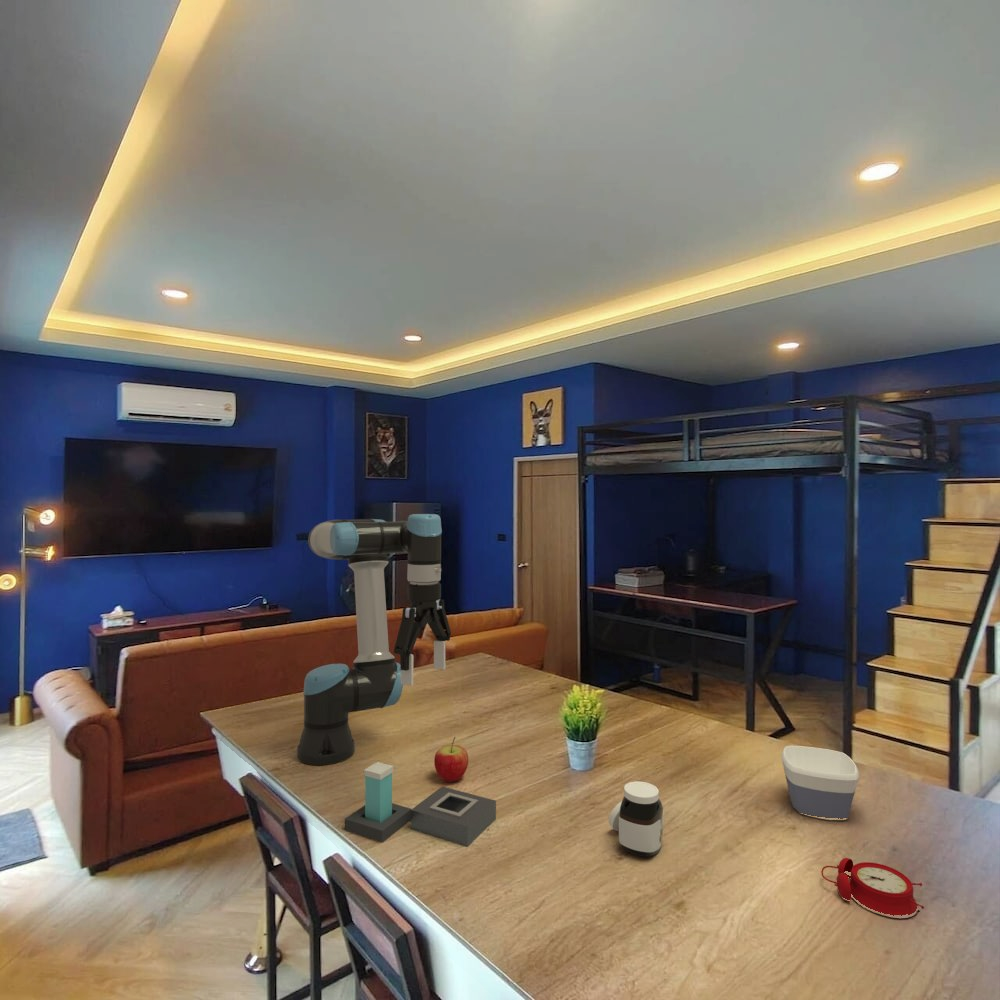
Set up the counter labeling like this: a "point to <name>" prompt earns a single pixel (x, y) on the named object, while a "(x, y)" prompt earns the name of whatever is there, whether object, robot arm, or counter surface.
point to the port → (453, 815)
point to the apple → (451, 762)
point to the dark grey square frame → (375, 829)
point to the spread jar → (639, 819)
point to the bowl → (820, 781)
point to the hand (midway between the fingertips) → (424, 676)
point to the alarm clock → (876, 887)
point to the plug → (378, 792)
